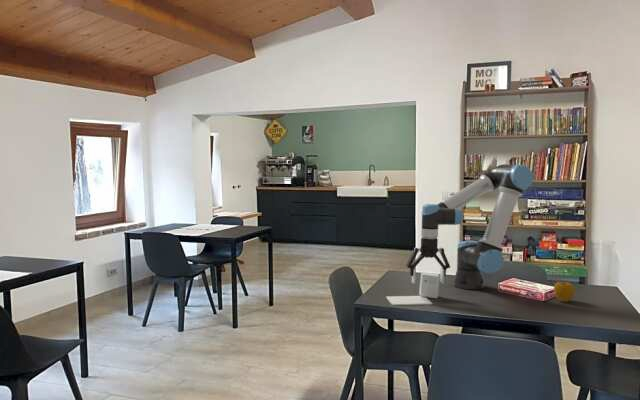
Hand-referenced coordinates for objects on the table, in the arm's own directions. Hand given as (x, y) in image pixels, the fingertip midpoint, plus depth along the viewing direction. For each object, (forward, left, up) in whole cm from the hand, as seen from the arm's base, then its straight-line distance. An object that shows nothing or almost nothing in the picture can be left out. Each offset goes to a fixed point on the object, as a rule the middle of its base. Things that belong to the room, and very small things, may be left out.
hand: (427, 282), depth 221 cm
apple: (-60, +11, -7) cm, 62 cm away
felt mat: (+11, +6, -7) cm, 14 cm away
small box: (0, 0, -7) cm, 7 cm away
